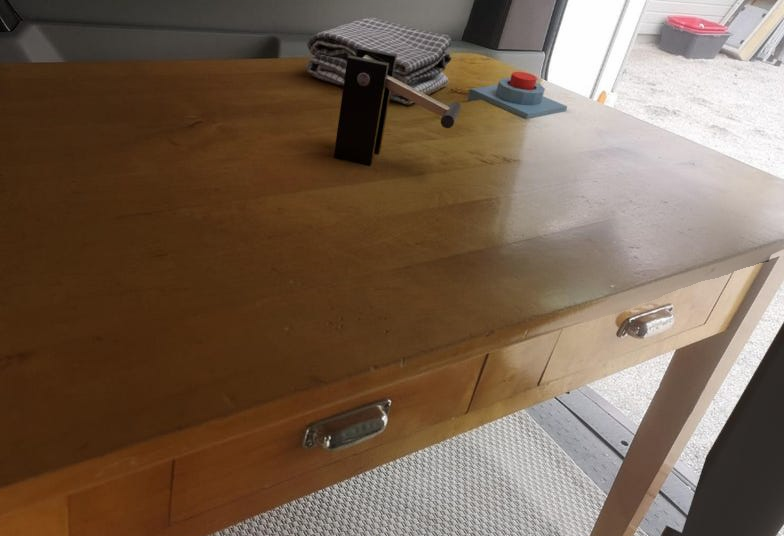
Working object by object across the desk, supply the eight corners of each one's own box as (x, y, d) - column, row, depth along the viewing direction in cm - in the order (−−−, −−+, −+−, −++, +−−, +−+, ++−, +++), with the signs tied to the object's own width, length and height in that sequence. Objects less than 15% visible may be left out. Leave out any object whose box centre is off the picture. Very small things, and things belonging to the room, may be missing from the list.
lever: (455, 120, 86) (465, 101, 85) (448, 134, 82) (458, 114, 81) (360, 70, 86) (369, 51, 85) (348, 82, 82) (357, 62, 81)
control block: (563, 120, 112) (571, 93, 110) (523, 129, 107) (531, 101, 105) (506, 96, 119) (513, 70, 117) (466, 103, 114) (473, 76, 112)
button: (538, 90, 111) (542, 78, 110) (522, 93, 109) (526, 80, 108) (519, 82, 113) (522, 70, 112) (503, 85, 111) (506, 72, 110)
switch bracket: (412, 164, 92) (434, 56, 85) (396, 192, 85) (418, 77, 78) (318, 142, 95) (331, 36, 87) (295, 168, 88) (307, 54, 80)
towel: (351, 59, 126) (358, 9, 122) (452, 88, 119) (463, 36, 114) (301, 77, 116) (306, 23, 111) (407, 111, 108) (418, 54, 104)
